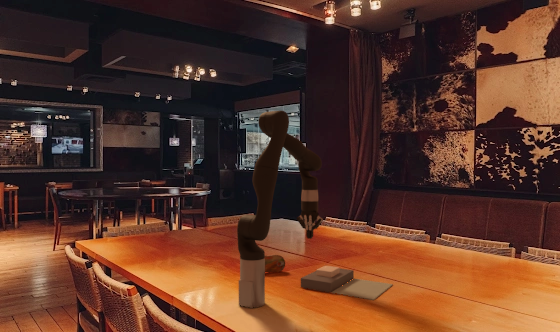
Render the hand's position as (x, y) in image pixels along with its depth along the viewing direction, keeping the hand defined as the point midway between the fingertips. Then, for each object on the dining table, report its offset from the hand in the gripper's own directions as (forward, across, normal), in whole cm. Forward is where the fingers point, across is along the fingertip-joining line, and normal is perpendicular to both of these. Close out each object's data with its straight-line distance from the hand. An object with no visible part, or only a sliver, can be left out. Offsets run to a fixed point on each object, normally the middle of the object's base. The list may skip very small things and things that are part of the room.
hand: (309, 238), depth 192 cm
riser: (+19, +9, 0) cm, 21 cm away
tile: (+15, +9, 0) cm, 17 cm away
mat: (+19, +25, 0) cm, 31 cm away
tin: (+19, -23, +2) cm, 30 cm away
